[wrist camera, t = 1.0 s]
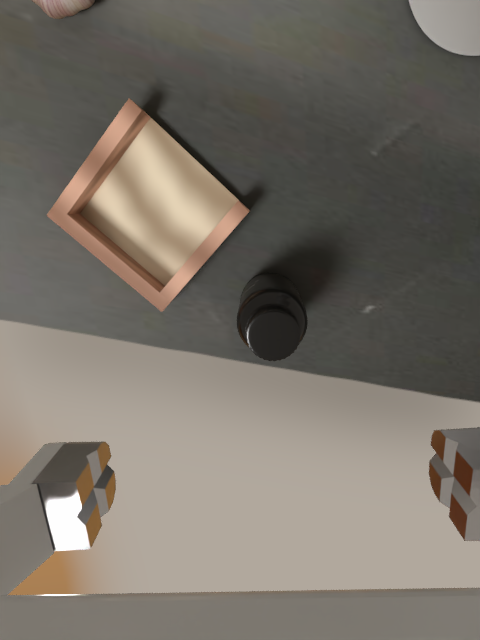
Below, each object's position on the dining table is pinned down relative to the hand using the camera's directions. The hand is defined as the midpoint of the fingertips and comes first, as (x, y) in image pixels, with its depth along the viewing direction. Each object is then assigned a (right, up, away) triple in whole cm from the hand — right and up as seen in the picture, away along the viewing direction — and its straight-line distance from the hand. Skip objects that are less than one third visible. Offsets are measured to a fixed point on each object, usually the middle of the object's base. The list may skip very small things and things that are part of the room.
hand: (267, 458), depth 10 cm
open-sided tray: (-10, +15, +32) cm, 37 cm away
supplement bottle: (+3, +6, +35) cm, 35 cm away
